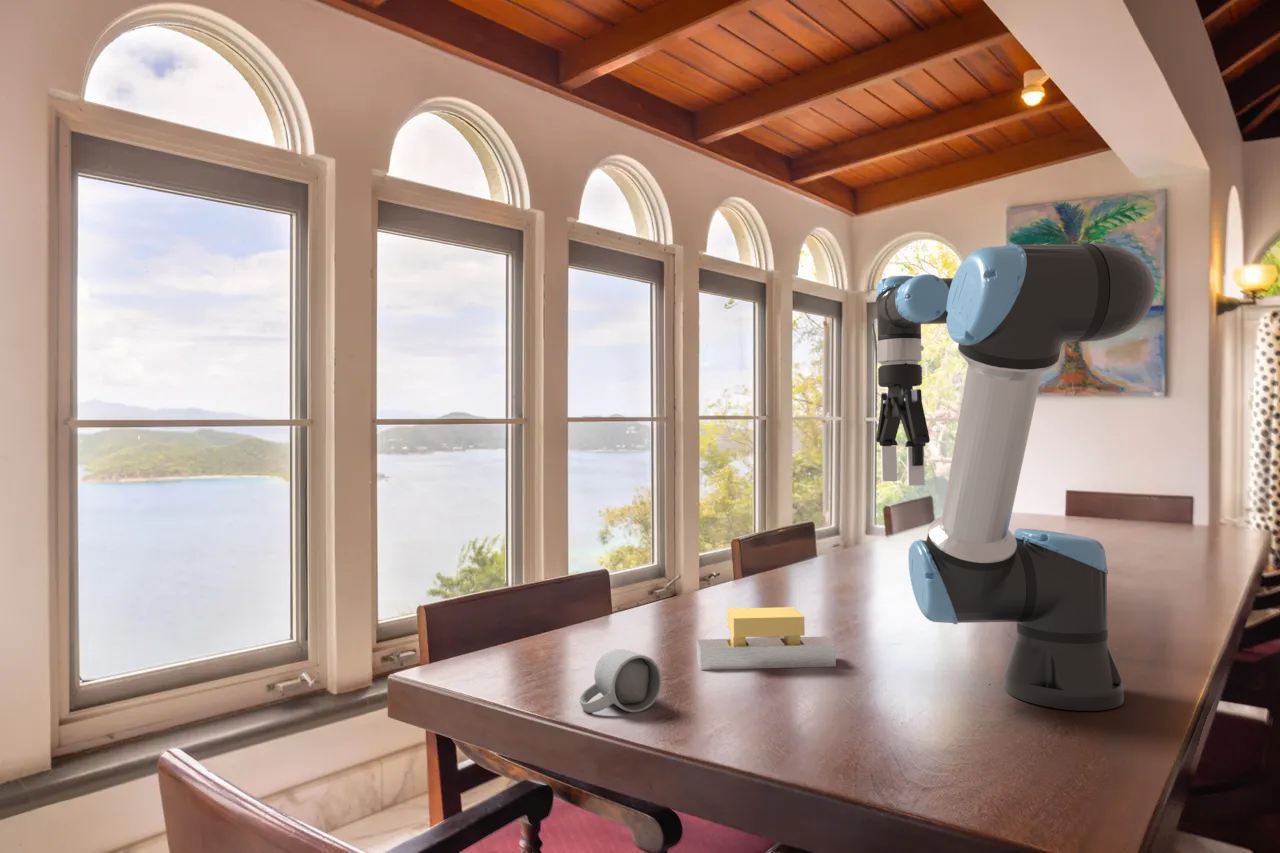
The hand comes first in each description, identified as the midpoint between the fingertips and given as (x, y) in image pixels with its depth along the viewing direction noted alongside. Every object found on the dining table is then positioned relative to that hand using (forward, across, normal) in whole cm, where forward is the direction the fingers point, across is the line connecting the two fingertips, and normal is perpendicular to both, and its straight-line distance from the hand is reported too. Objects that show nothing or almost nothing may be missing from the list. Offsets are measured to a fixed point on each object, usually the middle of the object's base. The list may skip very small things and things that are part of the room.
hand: (902, 483), depth 148 cm
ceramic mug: (+29, -30, +51) cm, 66 cm away
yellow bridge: (+28, -10, +27) cm, 40 cm away
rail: (+29, -10, +27) cm, 41 cm away
